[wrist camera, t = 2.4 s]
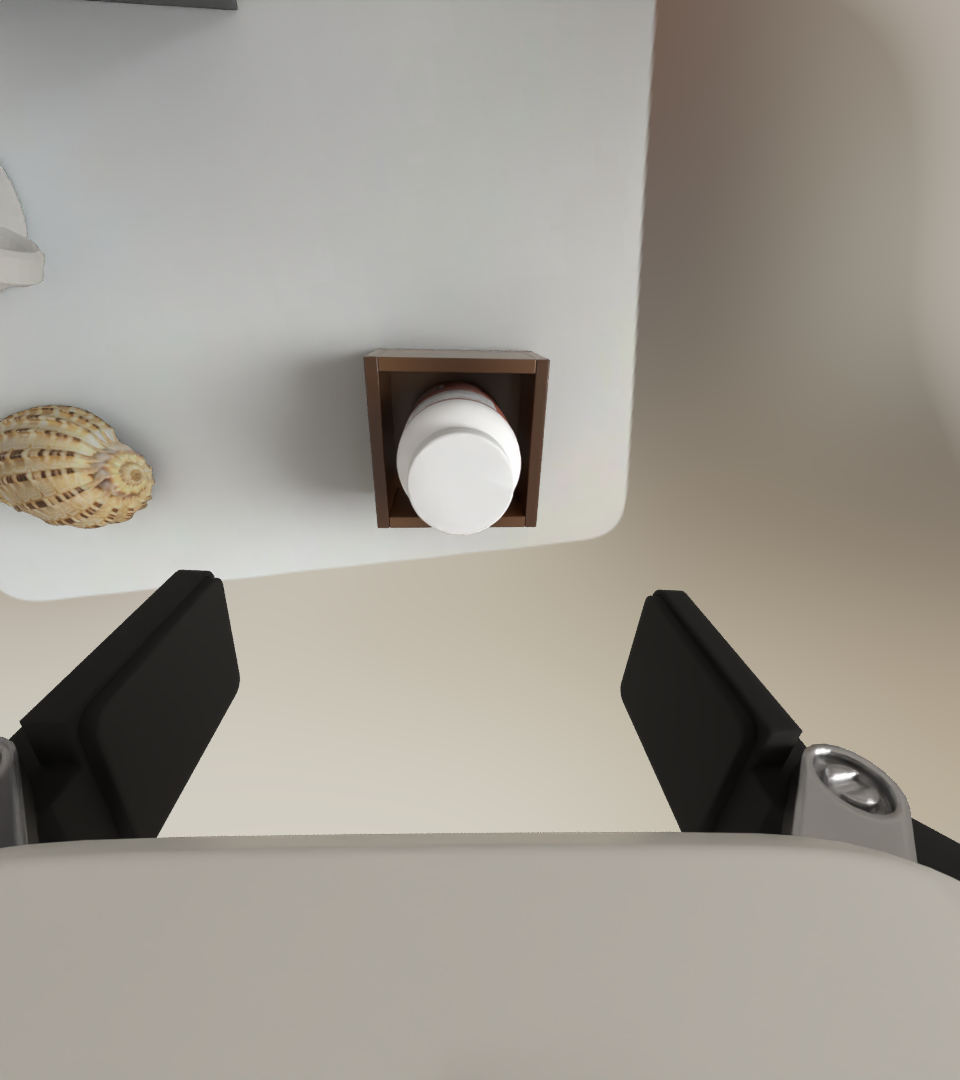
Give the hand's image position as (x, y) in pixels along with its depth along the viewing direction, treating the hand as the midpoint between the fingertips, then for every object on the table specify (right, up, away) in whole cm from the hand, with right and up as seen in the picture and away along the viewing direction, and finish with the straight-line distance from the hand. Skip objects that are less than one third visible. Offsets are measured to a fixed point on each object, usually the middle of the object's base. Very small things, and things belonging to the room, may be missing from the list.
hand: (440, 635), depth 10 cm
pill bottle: (-1, +9, +20) cm, 22 cm away
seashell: (-25, +7, +20) cm, 32 cm away
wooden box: (-1, +10, +20) cm, 22 cm away
